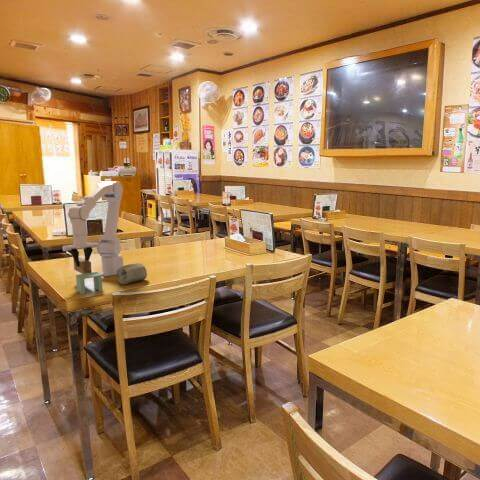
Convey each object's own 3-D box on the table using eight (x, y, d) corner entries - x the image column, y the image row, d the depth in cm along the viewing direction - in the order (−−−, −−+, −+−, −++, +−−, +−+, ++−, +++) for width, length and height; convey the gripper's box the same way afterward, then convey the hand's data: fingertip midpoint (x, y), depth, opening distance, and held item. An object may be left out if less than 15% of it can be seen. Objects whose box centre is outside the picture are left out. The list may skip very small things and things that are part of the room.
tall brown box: (81, 268, 181) (80, 257, 180) (91, 273, 171) (90, 261, 170) (74, 269, 179) (73, 258, 179) (83, 274, 169) (83, 263, 168)
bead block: (97, 287, 172) (96, 271, 171) (102, 290, 167) (101, 274, 166) (77, 291, 167) (75, 275, 166) (81, 294, 162) (80, 277, 161)
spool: (122, 280, 170) (121, 258, 173) (112, 286, 176) (112, 265, 180) (151, 282, 179) (150, 261, 182) (141, 288, 185) (140, 267, 189)
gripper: (64, 237, 165) (67, 269, 167) (100, 233, 174) (102, 264, 176) (60, 235, 171) (62, 266, 173) (94, 232, 180) (96, 262, 182)
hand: (82, 265), depth 175 cm, fingers closed on tall brown box, 3 cm apart
